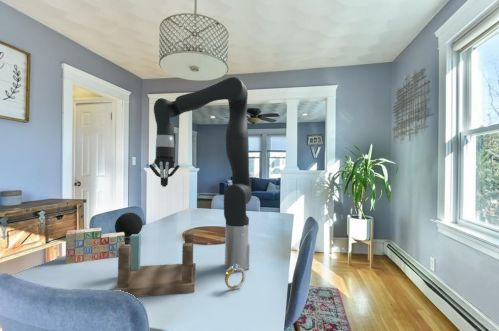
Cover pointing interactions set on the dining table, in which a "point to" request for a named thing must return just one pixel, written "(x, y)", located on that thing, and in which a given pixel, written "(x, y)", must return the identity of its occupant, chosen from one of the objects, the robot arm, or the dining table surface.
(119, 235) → the stack of blocks
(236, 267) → the bracelet
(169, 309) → the dining table surface
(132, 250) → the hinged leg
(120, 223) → the black ball on pedestal
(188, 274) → the wooden rack
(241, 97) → the robot arm
